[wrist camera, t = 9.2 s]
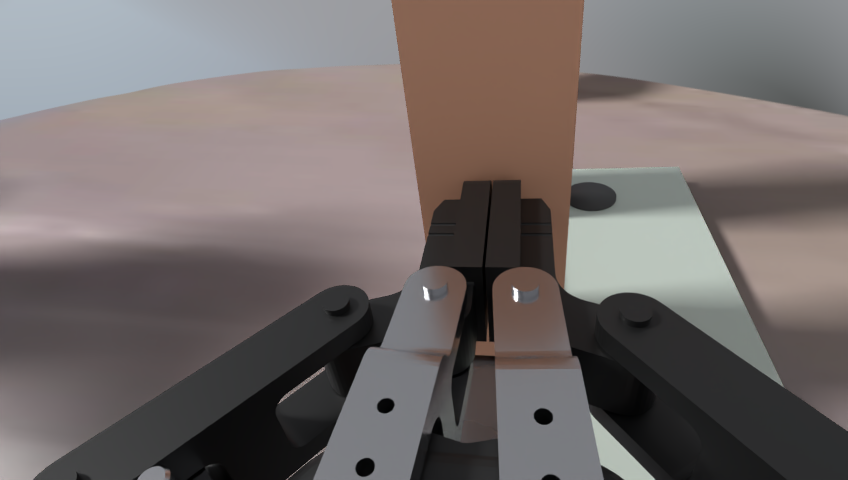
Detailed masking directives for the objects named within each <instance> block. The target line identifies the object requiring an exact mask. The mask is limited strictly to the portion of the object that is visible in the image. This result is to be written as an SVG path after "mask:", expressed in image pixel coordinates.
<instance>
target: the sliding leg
mask: <svg viewBox="0 0 848 480" xmlns="http://www.w3.org/2000/svg"><path fill="white" fill-rule="evenodd" d="M392 8H393V15H394V22H395V28H396V36H397V42H398V50H399V56H400V64H401V71H402V78H403V85H404V92H405V99H406V106H407V113H408V120H409V127H410V134H411V141H412V148H413V155H414V162H415V169H416V176H417V183H418V190H419V197H420V204H421V211H422V218H423V225H424V232H425V239H426V241H427V237H428V233H429V229H430V226H431V220H432V216H433V212H434V210H435V209H436V208H437V207H438V206H439V205H440V204H441V203H442V202H443V201H444V200H459V199H460V198H461V193H462V187H463V182H464V181H489V180H491V182H492V188H493V180H521V199H530V198H542V200H543V201H544V202H545V203H546V205H547V206H548V207H549V208H550V209H551V221H552V236H553V248H554V262H555V275H556V279H557V281H558V283H559V284H560V286H561V287H562V288H563V289H564V284H565V269H566V255H567V240H568V226H569V212H570V197H571V183H572V168H573V154H574V139H575V125H576V111H577V96H578V82H579V67H580V53H581V39H582V23H583V10H584V0H392ZM475 355H485V356H495V344H494V342H489V327H488V328H487V342H482V341H476V350H475Z"/></svg>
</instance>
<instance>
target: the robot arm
mask: <svg viewBox="0 0 848 480" xmlns="http://www.w3.org/2000/svg"><path fill="white" fill-rule="evenodd" d="M488 327H489V342H494V344H495V376H496V402H497V428H498V439H491V440H485V441H479V442H473V443H462V442H460V440H461V433H462V428H463V423H464V417H465V412H466V407H467V402H468V396H469V391H470V386H471V381H472V375H473V370H474V364H473V360H474V357H475V350H476V341H482V342H487V328H488ZM322 367H325V370H324V371H323V372H322V373H320V374H319V375H318V376H316V377H315V378H314V379H312V380H311V381H309V382H308V383H307V384H305V385H304V386H303V387H301V388H300V389H299V390H297V391H296V392H294V393H293V394H292V395H290V396H289V397H288V398H286V399H285V400H284V401H282V402H281V403H279V401H280V400H281V398H282V397H283V396H284V395H285V394H287V393H288V392H289V391H291V390H292V389H293V388H295V387H296V386H298V385H299V384H300V383H302V382H303V381H304V380H306V379H307V378H309V377H310V376H311V375H313V374H314V373H315V372H317V371H318V370H320V369H321V368H322ZM278 403H279V404H278ZM590 413H591V414H592V416H593V417H594V418H595V419H596V420H597V421H598V422H599V423H600V424H601V425H602V426H603V427H604V428H605V429H606V430H607V431H608V432H609V433H610V434H611V435H612V436H613V437H614V438H615V439H616V440H617V441H618V442H619V443H620V444H621V445H622V446H623V447H624V448H625V449H626V450H627V451H628V452H629V453H630V454H631V455H632V456H633V457H634V458H635V460H636V461H637V462H638V463H639V464H640V465H641V466H642V467H643V468H644V469H645V470H646V471H647V472H648V473H649V474H650V475H651V476H652V477H653V478H654V479H655V480H848V431H846V430H845V429H843V428H842V427H840V426H839V425H837V424H836V423H835V422H833V421H832V420H830V419H829V418H827V417H826V416H824V415H823V414H821V413H820V412H819V411H817V410H816V409H814V408H813V407H811V406H810V405H808V404H807V403H806V402H804V401H803V400H801V399H800V398H798V397H797V396H795V395H794V394H793V393H791V392H790V391H788V390H787V389H785V388H784V387H782V386H781V385H780V384H778V383H777V382H775V381H774V380H772V379H771V378H769V377H768V376H767V375H765V374H764V373H762V372H761V371H759V370H758V369H756V368H755V367H753V366H752V365H751V364H749V363H748V362H746V361H745V360H743V359H742V358H740V357H739V356H738V355H736V354H735V353H733V352H732V351H730V350H729V349H727V348H726V347H725V346H723V345H722V344H720V343H719V342H717V341H716V340H714V339H713V338H712V337H710V336H709V335H707V334H706V333H704V332H703V331H701V330H700V329H699V328H697V327H696V326H694V325H693V324H691V323H690V322H688V321H687V320H685V319H684V318H683V317H681V316H680V315H678V314H677V313H675V312H674V311H672V310H671V309H670V308H668V307H667V306H665V305H664V304H662V303H661V302H659V301H658V300H656V299H654V298H652V297H650V296H647V295H644V294H639V293H631V292H624V293H617V294H614V295H611V296H609V297H607V298H605V299H604V300H603V301H602V302H601V303H600V304H597V303H593V302H589V301H585V300H582V299H579V298H577V297H575V296H573V295H571V294H569V293H568V292H567V291H565V290H564V289H563V288H562V287H561V286H560V284H559V283H558V281H557V279H556V275H555V262H554V248H553V236H552V221H551V209H550V208H549V207H548V206H547V205H546V203H545V202H544V201H543V200H542V198H530V199H521V180H493V188H492V182H491V180H489V181H464V182H463V187H462V193H461V198H460V199H459V200H444V201H443V202H442V203H441V204H440V205H439V206H438V207H437V208H436V209H435V210H434V212H433V216H432V220H431V226H430V229H429V233H428V237H427V241H426V245H425V249H424V253H423V257H422V261H421V265H420V269H419V271H417V272H415V273H414V274H412V275H411V276H410V277H409V278H408V279H407V281H406V283H405V285H404V287H403V290H402V291H400V292H398V293H395V294H392V295H389V296H385V297H380V298H375V299H371V300H369V299H368V296H367V295H366V293H365V292H364V291H363V290H361V289H360V288H357V287H355V286H349V285H342V286H335V287H331V288H328V289H326V290H324V291H322V292H320V293H319V294H317V295H316V296H314V297H312V298H311V299H309V300H308V301H306V302H305V303H303V304H301V305H300V306H298V307H297V308H295V309H294V310H292V311H290V312H289V313H287V314H286V315H284V316H283V317H281V318H279V319H278V320H276V321H275V322H273V323H272V324H270V325H268V326H267V327H265V328H264V329H262V330H261V331H259V332H257V333H256V334H254V335H253V336H251V337H250V338H248V339H247V340H245V341H243V342H242V343H240V344H239V345H237V346H236V347H234V348H232V349H231V350H229V351H228V352H226V353H225V354H223V355H221V356H220V357H218V358H217V359H215V360H214V361H212V362H210V363H209V364H207V365H206V366H204V367H203V368H201V369H199V370H198V371H196V372H195V373H193V374H192V375H190V376H188V377H187V378H185V379H184V380H182V381H181V382H179V383H178V384H176V385H174V386H173V387H171V388H170V389H168V390H167V391H165V392H163V393H162V394H160V395H159V396H157V397H156V398H154V399H152V400H151V401H149V402H148V403H146V404H145V405H143V406H141V407H140V408H138V409H137V410H135V411H134V412H132V413H130V414H129V415H127V416H126V417H124V418H123V419H121V420H120V421H118V422H116V423H115V424H113V425H112V426H110V427H109V428H107V429H105V430H104V431H102V432H101V433H99V434H98V435H96V436H94V437H93V438H91V439H90V440H88V441H87V442H85V443H83V444H82V445H80V446H79V447H77V448H76V449H74V450H72V451H71V452H69V453H68V454H66V455H65V456H63V457H61V458H60V459H58V460H57V461H55V462H54V463H52V464H51V465H49V466H48V467H47V468H45V469H44V470H43V471H42V472H41V473H39V474H38V475H37V476H36V477H35V478H34V479H33V480H286V479H287V478H288V477H289V476H291V475H292V474H293V473H294V472H295V471H297V470H298V469H299V468H300V467H301V466H303V465H304V464H305V463H306V462H308V461H309V460H310V459H311V458H312V457H314V456H315V455H316V454H317V453H318V452H320V451H321V450H322V449H323V448H325V447H326V446H327V447H326V449H325V452H323V453H321V454H319V455H318V456H316V457H315V458H313V459H312V460H310V461H309V462H308V463H307V464H305V465H304V466H303V467H302V468H301V469H299V470H298V471H297V472H296V473H295V474H294V475H293V476H291V477H290V478H289V479H288V480H624V479H623V478H621V477H620V476H619V475H617V474H616V473H614V472H612V471H611V470H609V469H607V468H606V467H604V466H602V465H601V464H600V459H599V454H598V449H597V444H596V439H595V434H594V430H593V425H592V420H591V415H590Z"/></svg>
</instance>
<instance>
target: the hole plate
mask: <svg viewBox="0 0 848 480" xmlns="http://www.w3.org/2000/svg"><path fill="white" fill-rule="evenodd" d="M564 290H565V291H567V292H568V293H569V294H571V295H573V296H575V297H577V298H579V299H582V300H585V301H589V302H593V303H597V304H600V303H601V302H602V301H603V300H604V299H605V298H607V297H609V296H611V295H614V294H617V293H624V292H631V293H639V294H644V295H647V296H650V297H652V298H654V299H656V300H658V301H659V302H661V303H662V304H664V305H665V306H667V307H668V308H670V309H671V310H672V311H674V312H675V313H677V314H678V315H680V316H681V317H683V318H684V319H685V320H687V321H688V322H690V323H691V324H693V325H694V326H696V327H697V328H699V329H700V330H701V331H703V332H704V333H706V334H707V335H709V336H710V337H712V338H713V339H714V340H716V341H717V342H719V343H720V344H722V345H723V346H725V347H726V348H727V349H729V350H730V351H732V352H733V353H735V354H736V355H738V356H739V357H740V358H742V359H743V360H745V361H746V362H748V363H749V364H751V365H752V366H753V367H755V368H756V369H758V370H759V371H761V372H762V373H764V374H765V375H767V376H768V377H769V378H771V379H772V380H774V381H775V382H777V383H778V384H780V385H781V386H782V387H784V386H783V384H782V382H781V380H780V377H779V375H778V373H777V371H776V369H775V367H774V365H773V363H772V361H771V359H770V357H769V354H768V352H767V350H766V348H765V346H764V344H763V342H762V340H761V338H760V336H759V334H758V331H757V329H756V327H755V325H754V323H753V321H752V319H751V317H750V315H749V313H748V311H747V309H746V306H745V304H744V302H743V300H742V298H741V296H740V294H739V292H738V290H737V288H736V286H735V283H734V281H733V279H732V277H731V275H730V273H729V271H728V269H727V267H726V265H725V263H724V260H723V258H722V256H721V254H720V252H719V250H718V248H717V246H716V244H715V242H714V240H713V238H712V235H711V233H710V231H709V229H708V227H707V225H706V223H705V221H704V219H703V217H702V215H701V212H700V210H699V208H698V206H697V204H696V202H695V200H694V198H693V196H692V194H691V192H690V189H689V187H688V185H687V183H686V181H685V179H684V177H683V175H682V173H681V171H680V169H679V167H648V168H604V169H572V183H571V197H570V212H569V226H568V240H567V255H566V269H565V284H564ZM590 415H591V420H592V425H593V430H594V434H595V439H596V444H597V449H598V454H599V459H600V464H601V465H602V466H604V467H606V468H607V469H609V470H611V471H612V472H614V473H616V474H617V475H619V476H620V477H621V478H623V479H624V480H655V479H654V478H653V477H652V476H651V475H650V474H649V473H648V472H647V471H646V470H645V469H644V468H643V467H642V466H641V465H640V464H639V463H638V462H637V461H636V460H635V458H634V457H633V456H632V455H631V454H630V453H629V452H628V451H627V450H626V449H625V448H624V447H623V446H622V445H621V444H620V443H619V442H618V441H617V440H616V439H615V438H614V437H613V436H612V435H611V434H610V433H609V432H608V431H607V430H606V429H605V428H604V427H603V426H602V425H601V424H600V423H599V422H598V421H597V420H596V419H595V418H594V417H593V416H592V414H591V413H590Z"/></svg>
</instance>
